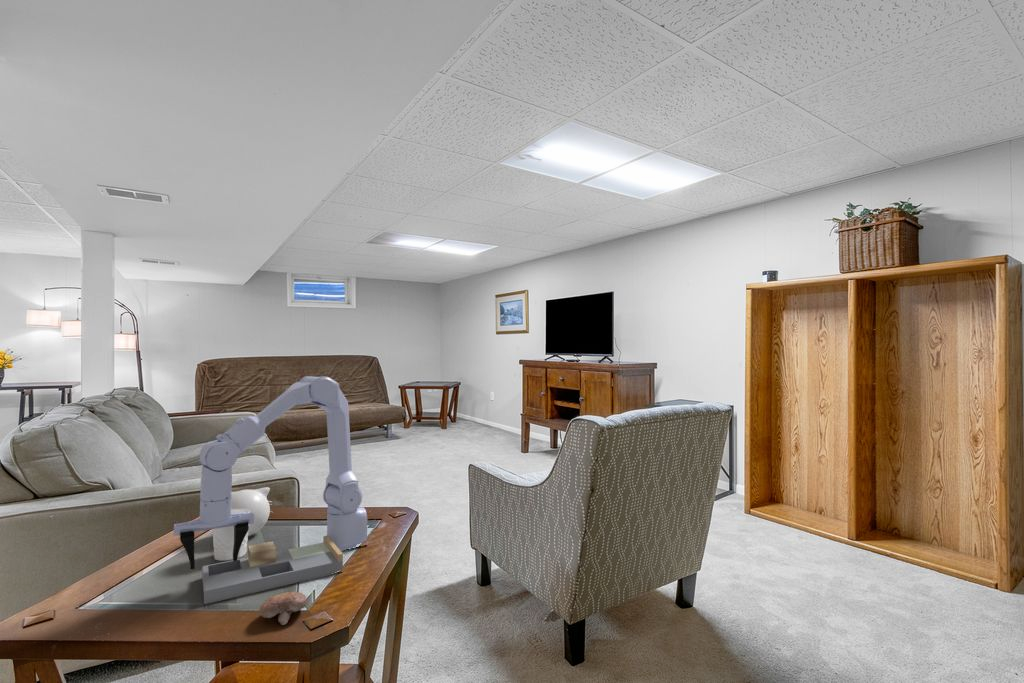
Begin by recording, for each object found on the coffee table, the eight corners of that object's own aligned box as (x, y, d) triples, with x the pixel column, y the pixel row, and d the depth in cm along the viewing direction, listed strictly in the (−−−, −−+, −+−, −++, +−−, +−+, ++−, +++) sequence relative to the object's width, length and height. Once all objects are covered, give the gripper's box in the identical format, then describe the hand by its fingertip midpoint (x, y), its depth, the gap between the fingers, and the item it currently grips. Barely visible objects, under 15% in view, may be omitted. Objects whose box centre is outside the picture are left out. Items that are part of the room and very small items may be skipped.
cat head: (208, 549, 121) (210, 500, 122) (213, 533, 133) (214, 488, 134) (275, 539, 128) (276, 492, 129) (274, 525, 140) (275, 482, 140)
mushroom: (311, 623, 87) (314, 592, 94) (293, 599, 85) (297, 569, 92) (270, 647, 85) (276, 614, 93) (251, 624, 83) (258, 591, 91)
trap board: (327, 551, 120) (327, 535, 120) (342, 572, 108) (342, 553, 108) (202, 578, 105) (202, 559, 105) (204, 604, 94) (204, 583, 94)
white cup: (232, 563, 113) (233, 519, 113) (203, 560, 115) (204, 517, 115) (256, 550, 121) (257, 509, 121) (228, 548, 122) (229, 508, 123)
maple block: (272, 554, 112) (272, 541, 112) (275, 562, 107) (276, 548, 107) (247, 559, 109) (248, 546, 109) (250, 567, 105) (250, 553, 105)
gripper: (252, 489, 111) (250, 550, 110) (175, 499, 103) (172, 564, 102) (255, 496, 105) (254, 560, 105) (174, 507, 97) (172, 576, 97)
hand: (214, 563), depth 103 cm, fingers open, 7 cm apart
